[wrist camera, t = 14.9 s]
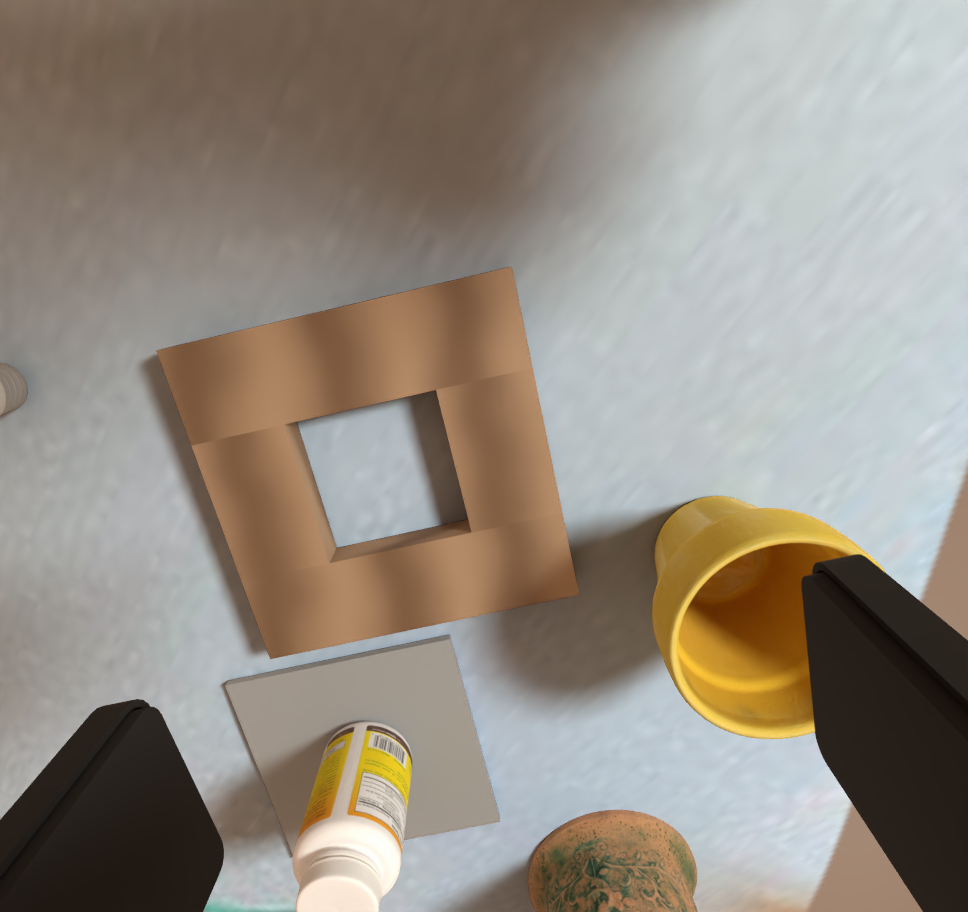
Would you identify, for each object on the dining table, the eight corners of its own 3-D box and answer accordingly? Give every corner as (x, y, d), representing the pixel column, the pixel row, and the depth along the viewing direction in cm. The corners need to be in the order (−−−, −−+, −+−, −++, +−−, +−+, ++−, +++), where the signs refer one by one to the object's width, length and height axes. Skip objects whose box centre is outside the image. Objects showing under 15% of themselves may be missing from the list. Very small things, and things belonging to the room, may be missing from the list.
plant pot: (604, 616, 38) (646, 729, 29) (640, 452, 35) (700, 519, 26) (770, 637, 39) (865, 754, 29) (819, 477, 36) (941, 550, 27)
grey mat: (449, 634, 38) (449, 639, 38) (499, 815, 42) (499, 821, 42) (228, 680, 39) (225, 685, 39) (296, 854, 43) (294, 861, 42)
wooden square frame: (509, 266, 33) (511, 266, 31) (573, 577, 37) (579, 594, 36) (174, 346, 33) (156, 350, 31) (280, 639, 38) (270, 659, 36)
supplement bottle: (329, 789, 41) (282, 953, 31) (322, 716, 39) (272, 864, 30) (415, 788, 41) (396, 952, 31) (413, 715, 39) (392, 863, 30)
